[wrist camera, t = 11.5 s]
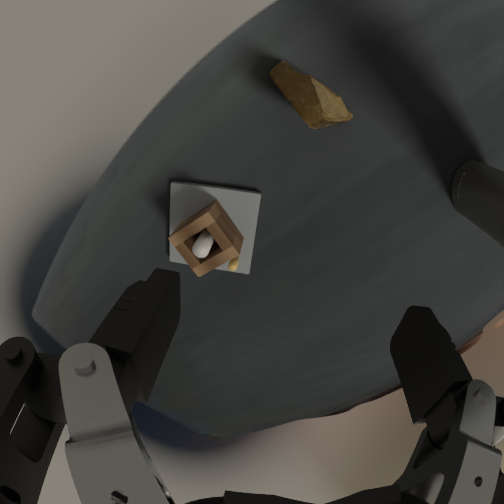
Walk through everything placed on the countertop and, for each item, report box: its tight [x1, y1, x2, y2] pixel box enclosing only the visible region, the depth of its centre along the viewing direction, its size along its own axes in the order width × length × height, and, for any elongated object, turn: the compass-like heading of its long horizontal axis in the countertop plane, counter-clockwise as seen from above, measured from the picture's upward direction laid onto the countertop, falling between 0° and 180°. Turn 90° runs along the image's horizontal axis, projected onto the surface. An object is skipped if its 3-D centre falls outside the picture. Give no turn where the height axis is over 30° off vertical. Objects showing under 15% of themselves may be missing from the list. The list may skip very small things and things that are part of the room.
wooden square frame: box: [168, 199, 244, 277], centre depth 35 cm, size 6×6×5 cm
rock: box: [269, 61, 352, 129], centre depth 26 cm, size 11×9×10 cm
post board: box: [170, 181, 261, 274], centre depth 35 cm, size 12×12×7 cm
